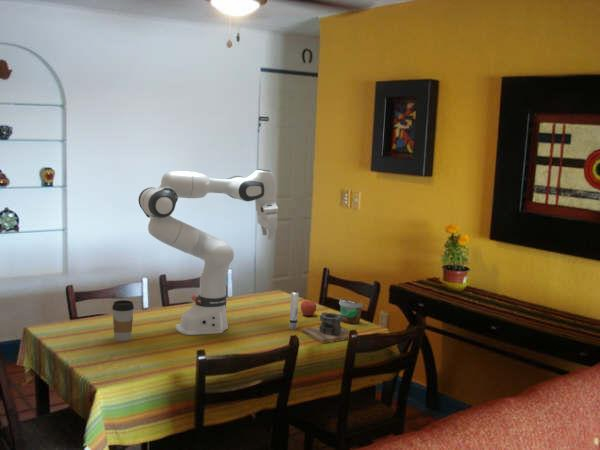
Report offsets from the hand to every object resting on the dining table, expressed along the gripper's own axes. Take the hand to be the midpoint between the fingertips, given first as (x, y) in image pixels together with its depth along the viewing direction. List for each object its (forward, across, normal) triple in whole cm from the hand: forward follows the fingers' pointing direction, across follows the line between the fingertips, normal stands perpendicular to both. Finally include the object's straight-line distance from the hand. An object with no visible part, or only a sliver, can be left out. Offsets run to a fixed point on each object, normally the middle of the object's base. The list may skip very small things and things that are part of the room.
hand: (267, 237), depth 304 cm
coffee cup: (+32, +15, -66) cm, 75 cm away
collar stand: (+40, +24, +19) cm, 50 cm away
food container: (+42, +7, +33) cm, 54 cm away
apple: (+41, -6, +19) cm, 46 cm away
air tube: (+39, +12, +6) cm, 42 cm away
